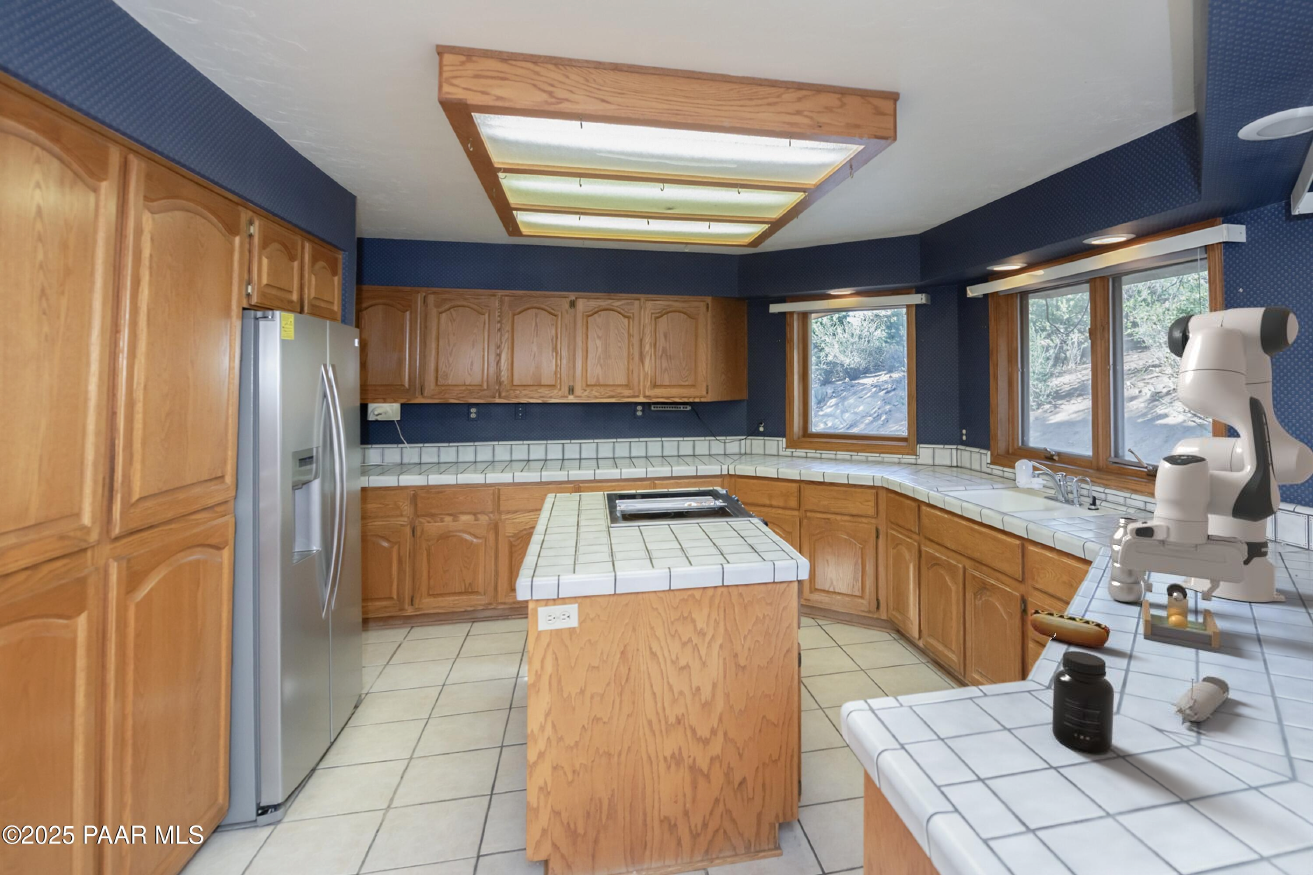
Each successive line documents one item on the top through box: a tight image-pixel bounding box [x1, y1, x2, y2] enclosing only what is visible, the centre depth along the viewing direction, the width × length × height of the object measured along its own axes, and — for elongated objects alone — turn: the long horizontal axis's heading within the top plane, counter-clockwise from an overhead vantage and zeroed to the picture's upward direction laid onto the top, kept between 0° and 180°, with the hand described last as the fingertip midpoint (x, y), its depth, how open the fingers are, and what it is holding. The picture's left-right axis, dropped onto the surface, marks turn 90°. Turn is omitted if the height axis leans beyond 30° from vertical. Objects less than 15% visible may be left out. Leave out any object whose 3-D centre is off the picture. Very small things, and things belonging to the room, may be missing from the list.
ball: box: [1169, 615, 1188, 629], centre depth 122 cm, size 3×3×3 cm
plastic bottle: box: [1107, 516, 1144, 603], centre depth 142 cm, size 6×7×20 cm
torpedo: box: [1169, 675, 1230, 726], centre depth 92 cm, size 18×5×6 cm, turn 125°
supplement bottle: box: [1051, 650, 1115, 755], centre depth 83 cm, size 7×7×12 cm
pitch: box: [1141, 598, 1221, 654], centre depth 123 cm, size 16×11×4 cm
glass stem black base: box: [1166, 582, 1190, 622], centre depth 126 cm, size 6×3×7 cm, turn 142°
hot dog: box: [1029, 609, 1111, 648], centre depth 118 cm, size 5×13×5 cm, turn 43°
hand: (1176, 595), depth 127 cm, fingers open, 8 cm apart
